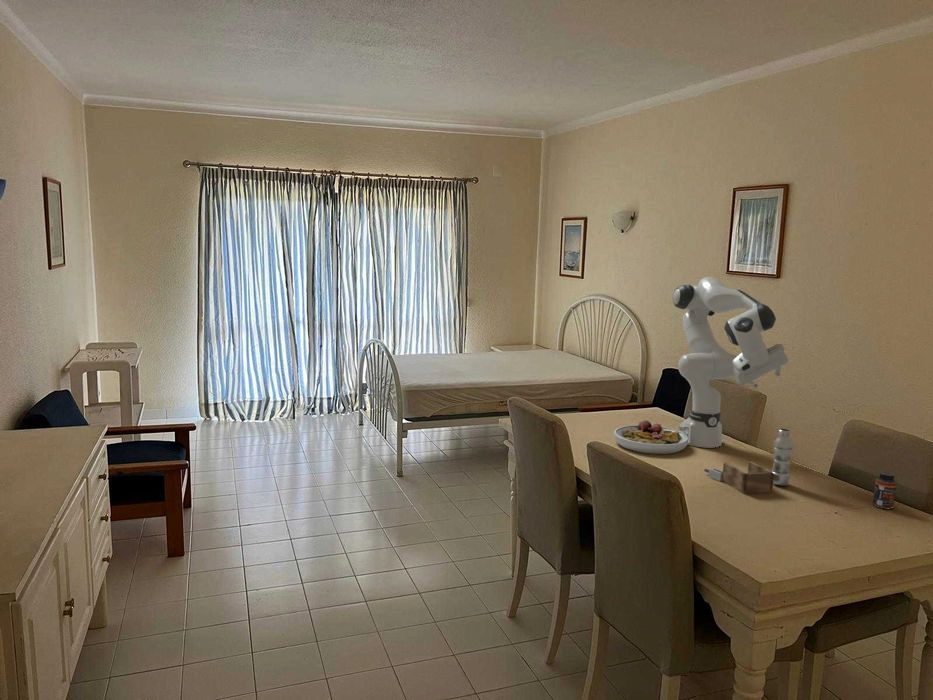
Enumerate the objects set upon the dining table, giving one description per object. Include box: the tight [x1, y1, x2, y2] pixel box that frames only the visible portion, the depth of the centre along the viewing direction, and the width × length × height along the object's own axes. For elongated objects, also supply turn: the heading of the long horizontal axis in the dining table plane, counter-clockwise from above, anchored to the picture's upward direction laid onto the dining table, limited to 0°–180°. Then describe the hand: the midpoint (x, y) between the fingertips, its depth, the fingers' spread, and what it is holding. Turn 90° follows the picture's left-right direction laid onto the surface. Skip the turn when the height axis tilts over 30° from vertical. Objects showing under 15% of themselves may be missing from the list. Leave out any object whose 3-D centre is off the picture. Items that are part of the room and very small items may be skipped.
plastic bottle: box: [771, 428, 794, 487], centre depth 246 cm, size 6×7×20 cm
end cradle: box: [721, 461, 774, 495], centre depth 244 cm, size 13×11×7 cm
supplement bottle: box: [872, 471, 897, 508], centre depth 228 cm, size 6×6×11 cm
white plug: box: [704, 467, 723, 482], centre depth 252 cm, size 11×3×3 cm, turn 32°
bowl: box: [613, 419, 688, 455], centre depth 292 cm, size 30×30×8 cm
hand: (766, 380), depth 272 cm, fingers open, 8 cm apart
